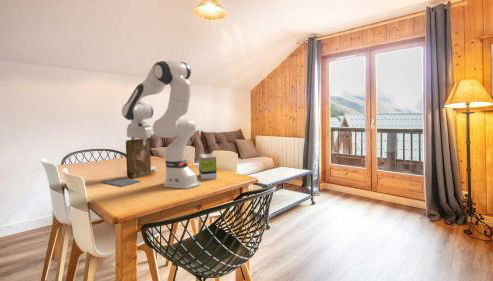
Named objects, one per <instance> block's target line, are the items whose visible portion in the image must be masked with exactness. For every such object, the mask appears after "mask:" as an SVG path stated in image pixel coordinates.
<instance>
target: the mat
mask: <svg viewBox="0 0 493 281" xmlns="http://www.w3.org/2000/svg"><path fill="white" fill-rule="evenodd" d="M137 183H141V180H137V179H133V178H128V177H127V178H126V177H121V176H120V177H119V176H118V177H115V178H111V179H107V180H103V181H100V184H105V185H106V184H107V185H109V186H111V185H112V186H117V187H120V188H123V187H126V186H130V185H133V184H137Z"/></svg>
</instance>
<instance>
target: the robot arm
mask: <svg viewBox="0 0 493 281" xmlns="http://www.w3.org/2000/svg"><path fill="white" fill-rule="evenodd" d="M191 71H192V70H191V67H190V65H189V63H186V62H184V61H174V60H165V61H164V60H162V61H156V62H154V63H153V65H152V66H151V68H150V70H149V71H148V73H147V77H146V78H145V79H144V80H143V81H142V82H141V83H139V84H138V85H137V86H136V87H135V88H134V90H133V92H132V93H131V94H130V96H129V99H128V100H127V102H125V104H124V105H123V106H122V109H121V115H122V116H123V117H124V118H125V120H127V121H130V123H129V124H128V125H127V127H126V137H127V138H130V140H135V138H136V139H143V142H142V145H145V144H146V140H147V139H151V137H152V132H153V134H154V135H155V137H158V138H164V139H166V138H174V140H173V142H172V143H169V144H168V145H167V146H166V148H165V157H166V158H165V167H166V168H165V169H166V170H165V176H164V178H165V179H164V183H163V186H164V187H165V188H175V189H191V188H195V187H198V186H200V185H202V182H201V181H200V180H198V176H197V173H196V172H195V171H193V169H191V168H190V167H189V164H190V163H189V161H187V159H186V147H187V144H188V142H189V141H190V139H191V138H192V136H193V135H195V133H196V131H197V125H196V123H195V121H194V120H192V119H188V118H181V117H182V116H185V115H186V114H188V111H189V106H190V99H191V89H192V88H191V82H190V80H189V79H190V77H191V74H192V72H191ZM168 85H169V87H170V92H169V100H168V103H167V104H168V105H167V108H166V111H165V112H164V113H163V115H162V116H161V117H159V118H158V119H157V120H155V121H154V122H153V123H152V124H153V125H152V124H151V123H150V122H149V121H146V120H150V119H151V118H153V116H154V108H153V107H152V105H151V104H147V103H145V101H144V100H143V98H145V97H147V96H152V95H157V94H160V93H161V92H162V91H164V89H165V88H166V86H168ZM151 125H152V128H151Z"/></svg>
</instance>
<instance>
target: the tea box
mask: <svg viewBox="0 0 493 281" xmlns="http://www.w3.org/2000/svg"><path fill="white" fill-rule="evenodd" d="M198 175H199V177H200V178H201V180H203V181H204V179H205V180H214V179H215V180H216V179H217V156H216V155H214V154H213V153H200V154H198Z"/></svg>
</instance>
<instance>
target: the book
mask: <svg viewBox="0 0 493 281" xmlns="http://www.w3.org/2000/svg"><path fill="white" fill-rule="evenodd" d="M142 142H143V138H136V139H135V140H131V139H128V140H125V155H126V156H125V158H126V160H125V161H126V177H127V179H138V178H142V177H145V176H149V175H152V165H151V164H152V163H151V138H147V140H146V144H145V145H142Z"/></svg>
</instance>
